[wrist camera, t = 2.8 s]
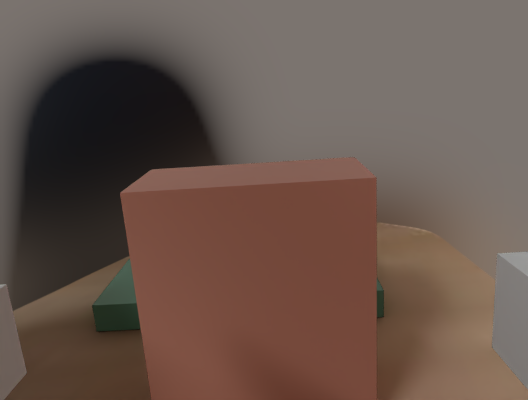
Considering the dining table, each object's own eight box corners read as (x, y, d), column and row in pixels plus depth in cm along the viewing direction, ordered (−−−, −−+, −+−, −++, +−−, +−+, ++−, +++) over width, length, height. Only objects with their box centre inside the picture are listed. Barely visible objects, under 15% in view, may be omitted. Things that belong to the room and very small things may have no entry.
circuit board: (96, 331, 32) (81, 244, 30) (143, 264, 43) (134, 198, 42) (383, 316, 31) (383, 227, 29) (353, 252, 43) (352, 185, 41)
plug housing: (155, 429, 22) (120, 192, 19) (177, 365, 27) (151, 169, 24) (376, 420, 22) (376, 177, 19) (357, 356, 27) (354, 157, 24)
